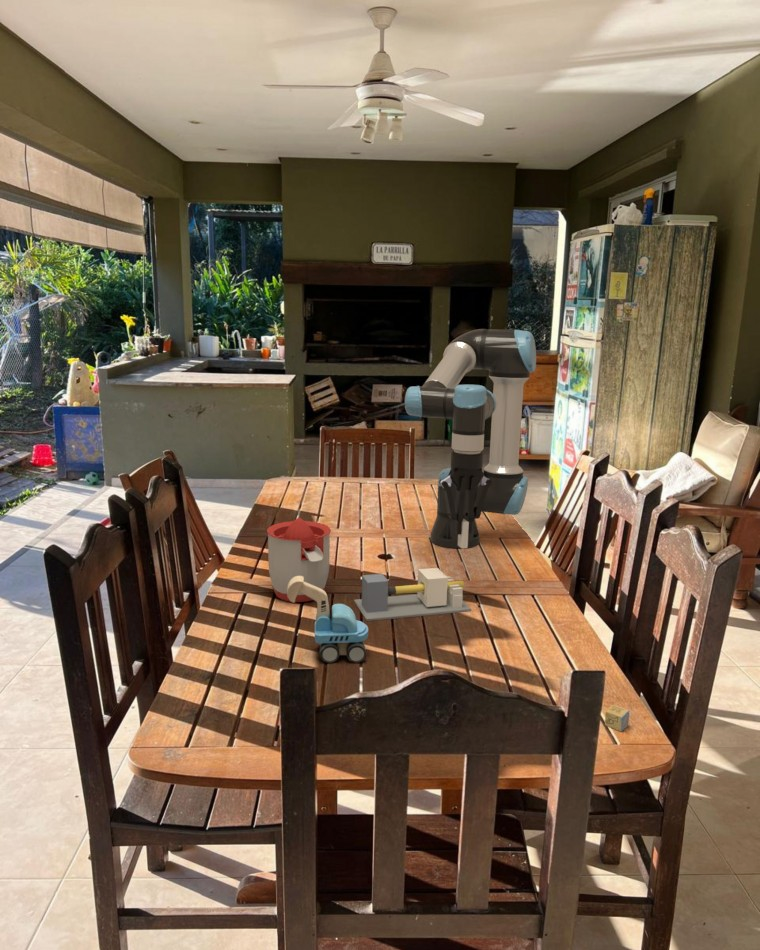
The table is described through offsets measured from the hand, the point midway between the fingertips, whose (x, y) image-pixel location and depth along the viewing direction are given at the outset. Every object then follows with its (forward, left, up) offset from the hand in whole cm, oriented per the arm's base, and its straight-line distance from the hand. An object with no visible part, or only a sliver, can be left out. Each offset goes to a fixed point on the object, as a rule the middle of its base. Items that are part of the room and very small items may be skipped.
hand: (462, 546), depth 183 cm
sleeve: (+7, 0, -13) cm, 15 cm away
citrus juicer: (+37, -13, -15) cm, 42 cm away
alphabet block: (-6, +59, -15) cm, 61 cm away
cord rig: (+12, 0, -14) cm, 19 cm away
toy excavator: (+37, +20, -15) cm, 45 cm away
